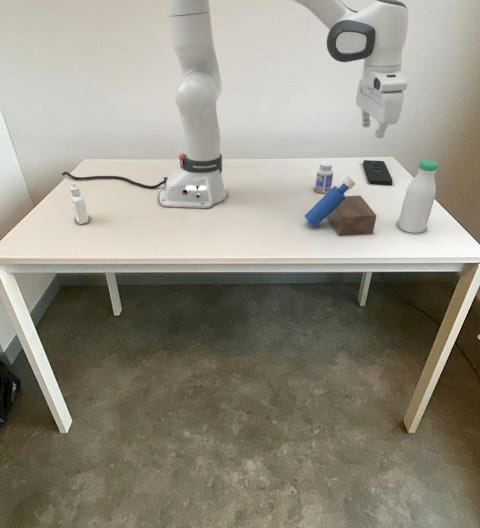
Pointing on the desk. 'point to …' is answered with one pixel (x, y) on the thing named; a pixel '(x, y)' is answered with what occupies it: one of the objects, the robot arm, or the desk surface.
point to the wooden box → (353, 217)
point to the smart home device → (377, 172)
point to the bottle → (328, 203)
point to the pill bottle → (324, 177)
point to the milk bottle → (419, 198)
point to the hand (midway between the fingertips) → (372, 131)
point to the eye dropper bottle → (78, 205)
